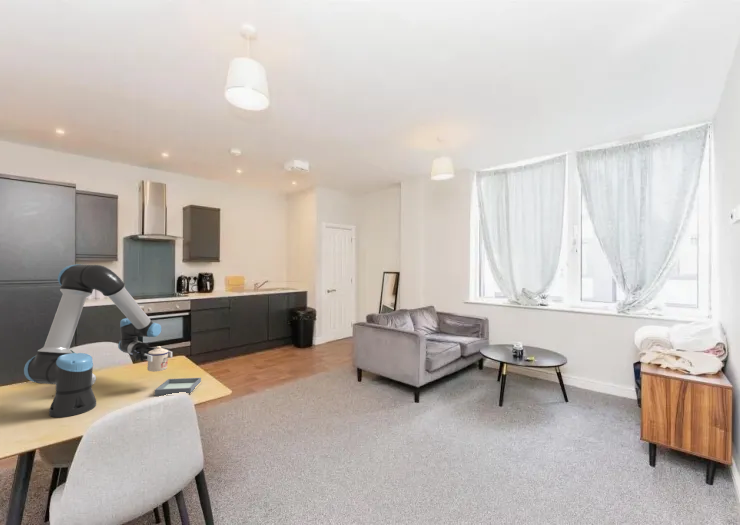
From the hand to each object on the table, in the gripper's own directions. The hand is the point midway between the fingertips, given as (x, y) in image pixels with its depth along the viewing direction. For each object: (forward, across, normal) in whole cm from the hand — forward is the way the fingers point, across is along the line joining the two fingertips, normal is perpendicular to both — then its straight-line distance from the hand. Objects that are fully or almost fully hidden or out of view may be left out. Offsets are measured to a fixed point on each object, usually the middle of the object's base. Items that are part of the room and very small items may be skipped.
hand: (161, 356), depth 167 cm
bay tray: (+8, -5, -16) cm, 19 cm away
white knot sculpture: (-30, +23, -18) cm, 42 cm away
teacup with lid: (-4, -1, -7) cm, 9 cm away
